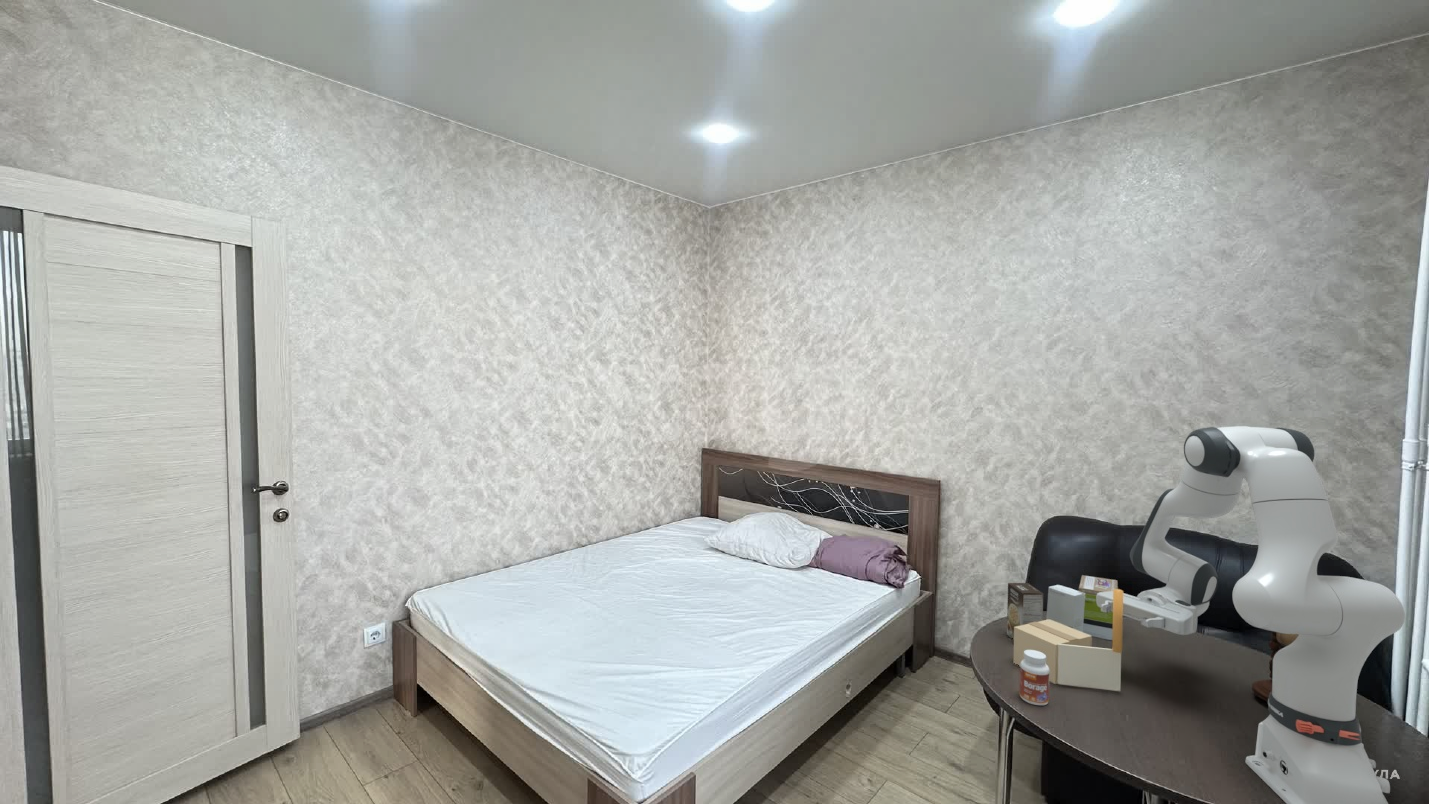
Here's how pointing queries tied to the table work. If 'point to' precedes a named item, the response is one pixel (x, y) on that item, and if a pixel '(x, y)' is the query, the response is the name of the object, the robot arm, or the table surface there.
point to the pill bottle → (1034, 678)
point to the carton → (1047, 642)
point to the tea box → (1096, 607)
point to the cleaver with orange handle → (1094, 658)
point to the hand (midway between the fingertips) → (1123, 615)
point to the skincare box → (1066, 606)
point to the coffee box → (1023, 606)
